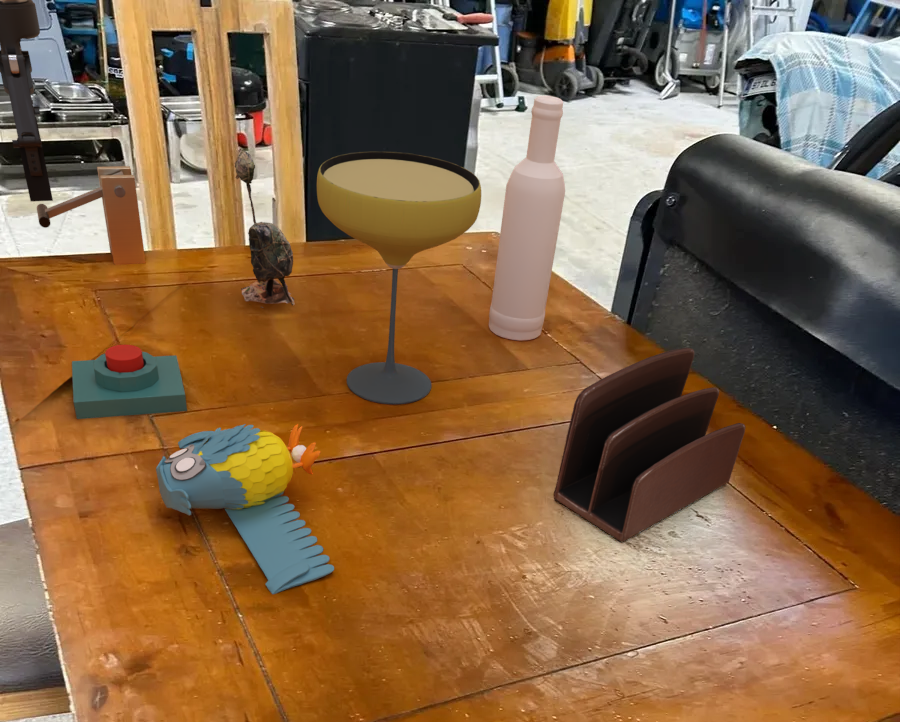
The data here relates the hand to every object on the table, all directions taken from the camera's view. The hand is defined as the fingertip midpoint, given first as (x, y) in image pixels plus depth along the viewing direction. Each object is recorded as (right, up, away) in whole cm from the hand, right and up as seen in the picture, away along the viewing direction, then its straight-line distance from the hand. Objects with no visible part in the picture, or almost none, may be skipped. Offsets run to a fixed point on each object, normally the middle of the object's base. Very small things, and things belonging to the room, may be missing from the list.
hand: (38, 184), depth 120 cm
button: (+18, -29, -18) cm, 39 cm away
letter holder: (+77, -45, -21) cm, 92 cm away
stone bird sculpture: (+30, -14, +7) cm, 34 cm away
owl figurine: (+35, -47, -30) cm, 66 cm away
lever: (+5, -1, +4) cm, 7 cm away
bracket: (+8, -7, +12) cm, 16 cm away
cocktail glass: (+48, -29, -7) cm, 57 cm away
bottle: (+65, -17, +9) cm, 68 cm away
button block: (+18, -32, -15) cm, 40 cm away
